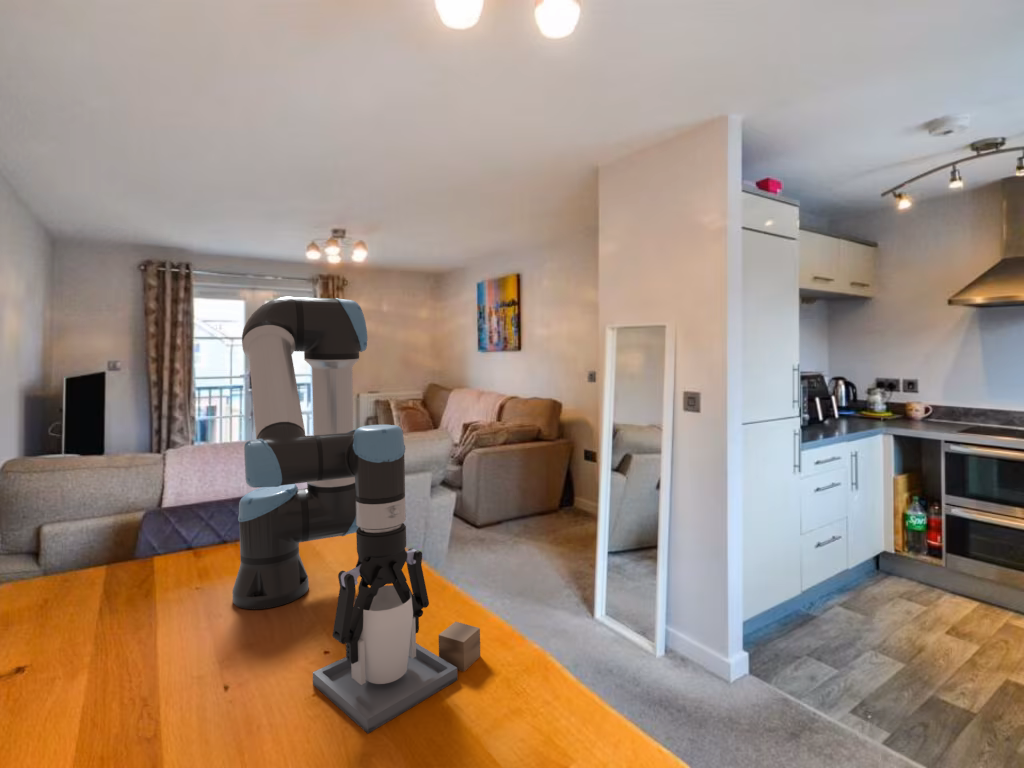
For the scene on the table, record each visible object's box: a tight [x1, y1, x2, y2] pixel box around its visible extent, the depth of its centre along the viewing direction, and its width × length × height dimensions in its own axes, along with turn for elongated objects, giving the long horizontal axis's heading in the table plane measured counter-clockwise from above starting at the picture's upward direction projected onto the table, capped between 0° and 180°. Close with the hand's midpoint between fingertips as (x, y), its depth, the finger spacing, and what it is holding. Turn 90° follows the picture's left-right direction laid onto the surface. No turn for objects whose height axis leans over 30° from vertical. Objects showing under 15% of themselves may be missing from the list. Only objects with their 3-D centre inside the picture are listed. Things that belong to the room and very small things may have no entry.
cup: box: [354, 584, 413, 684], centre depth 82 cm, size 9×9×12 cm
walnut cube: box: [438, 621, 481, 673], centre depth 88 cm, size 5×5×5 cm
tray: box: [312, 642, 458, 734], centre depth 82 cm, size 16×16×2 cm
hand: (385, 666), depth 82 cm, fingers closed on cup, 8 cm apart
